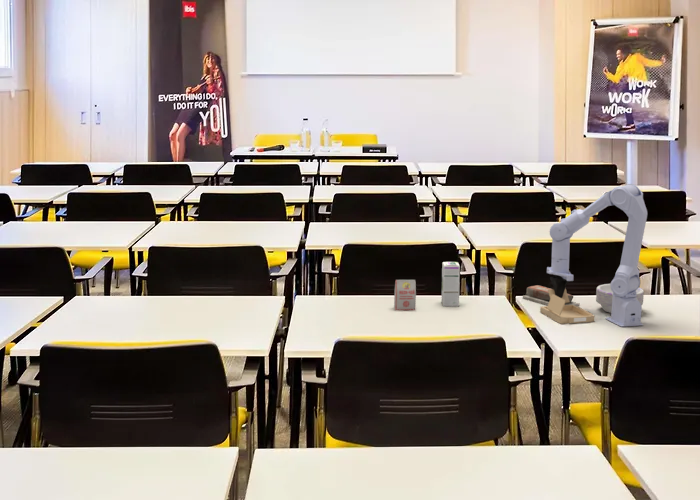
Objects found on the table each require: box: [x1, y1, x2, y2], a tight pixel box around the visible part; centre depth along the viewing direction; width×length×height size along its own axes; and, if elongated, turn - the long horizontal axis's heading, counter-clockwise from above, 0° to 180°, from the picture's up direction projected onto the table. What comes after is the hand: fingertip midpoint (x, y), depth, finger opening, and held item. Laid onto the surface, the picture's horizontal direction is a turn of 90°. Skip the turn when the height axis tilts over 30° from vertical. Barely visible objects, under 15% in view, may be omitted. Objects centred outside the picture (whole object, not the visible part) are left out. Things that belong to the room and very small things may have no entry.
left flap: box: [547, 294, 566, 315], centre depth 274 cm, size 8×1×5 cm, turn 15°
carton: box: [539, 305, 596, 325], centre depth 278 cm, size 15×12×2 cm
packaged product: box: [522, 284, 580, 307], centre depth 296 cm, size 18×5×10 cm
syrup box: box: [441, 261, 461, 307], centre depth 291 cm, size 6×6×14 cm
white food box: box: [393, 279, 417, 311], centre depth 285 cm, size 4×7×10 cm, turn 93°
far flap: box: [548, 288, 570, 303], centre depth 286 cm, size 1×6×5 cm
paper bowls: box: [595, 283, 645, 314], centre depth 285 cm, size 15×15×8 cm
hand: (558, 297), depth 286 cm, fingers closed, pressing on far flap
